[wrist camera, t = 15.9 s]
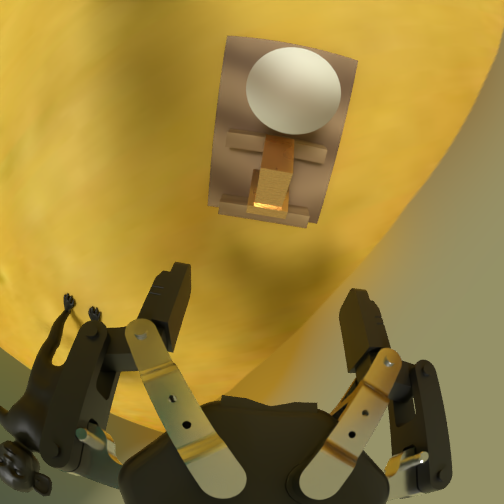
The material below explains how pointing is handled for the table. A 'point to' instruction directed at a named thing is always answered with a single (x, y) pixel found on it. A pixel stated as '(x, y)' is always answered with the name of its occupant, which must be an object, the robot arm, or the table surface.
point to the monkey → (33, 415)
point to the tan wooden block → (272, 178)
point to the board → (244, 117)
